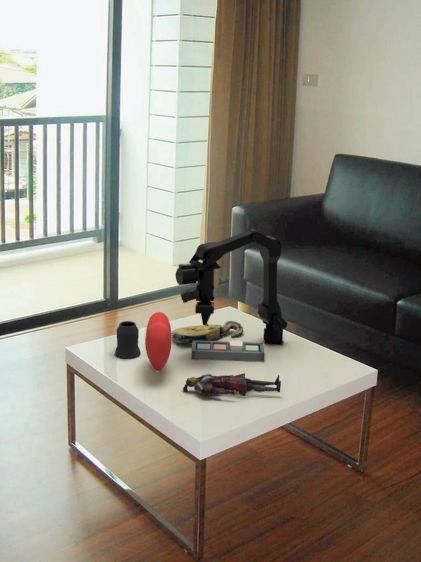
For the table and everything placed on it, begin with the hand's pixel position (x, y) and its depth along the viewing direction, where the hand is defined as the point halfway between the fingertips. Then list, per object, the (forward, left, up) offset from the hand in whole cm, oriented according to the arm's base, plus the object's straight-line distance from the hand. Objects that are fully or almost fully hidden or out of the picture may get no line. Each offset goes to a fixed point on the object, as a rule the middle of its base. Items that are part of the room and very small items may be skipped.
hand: (204, 324), depth 256 cm
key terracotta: (-6, 0, -10) cm, 12 cm away
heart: (+15, +16, -11) cm, 24 cm away
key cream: (-11, 0, -9) cm, 14 cm away
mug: (+27, +1, -11) cm, 29 cm away
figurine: (-9, +30, -11) cm, 34 cm away
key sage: (-17, 0, -10) cm, 20 cm away
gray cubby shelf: (-8, 0, -11) cm, 14 cm away
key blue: (0, 0, -10) cm, 10 cm away
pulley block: (-1, -15, -11) cm, 19 cm away
